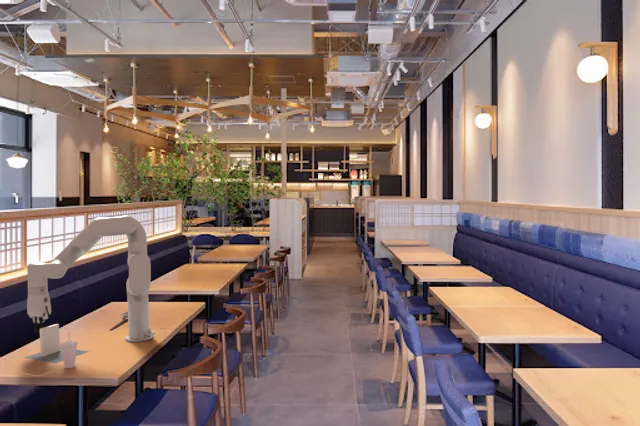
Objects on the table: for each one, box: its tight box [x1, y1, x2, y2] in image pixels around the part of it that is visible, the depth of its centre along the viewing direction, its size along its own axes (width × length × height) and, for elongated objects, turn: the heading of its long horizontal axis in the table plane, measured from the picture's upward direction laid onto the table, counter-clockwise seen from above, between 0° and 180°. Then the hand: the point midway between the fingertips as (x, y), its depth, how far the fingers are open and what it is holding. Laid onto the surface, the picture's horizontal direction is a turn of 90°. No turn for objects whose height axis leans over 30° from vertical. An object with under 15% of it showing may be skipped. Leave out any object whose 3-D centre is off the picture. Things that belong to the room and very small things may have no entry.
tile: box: [39, 323, 61, 357], centre depth 212 cm, size 2×8×12 cm, turn 156°
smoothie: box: [60, 331, 79, 369], centre depth 196 cm, size 6×6×14 cm
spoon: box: [109, 311, 128, 331], centre depth 265 cm, size 11×33×3 cm, turn 178°
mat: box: [24, 347, 89, 364], centre depth 211 cm, size 20×16×1 cm
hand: (39, 331), depth 214 cm, fingers closed
